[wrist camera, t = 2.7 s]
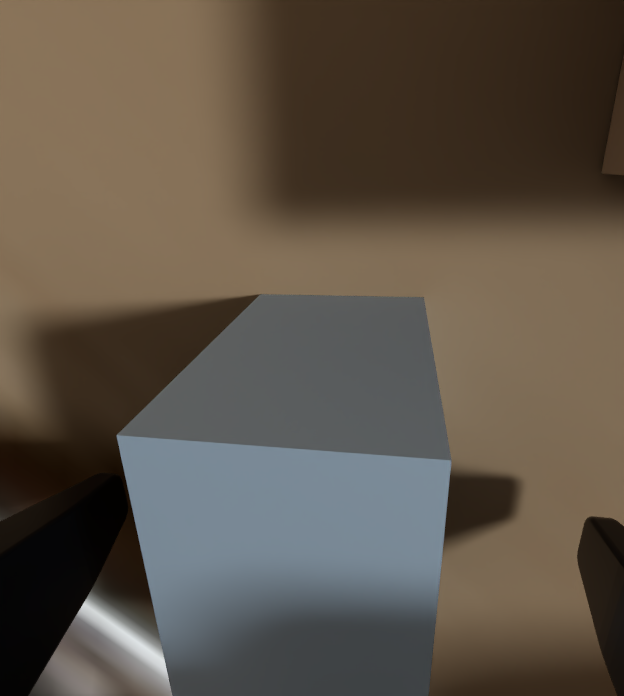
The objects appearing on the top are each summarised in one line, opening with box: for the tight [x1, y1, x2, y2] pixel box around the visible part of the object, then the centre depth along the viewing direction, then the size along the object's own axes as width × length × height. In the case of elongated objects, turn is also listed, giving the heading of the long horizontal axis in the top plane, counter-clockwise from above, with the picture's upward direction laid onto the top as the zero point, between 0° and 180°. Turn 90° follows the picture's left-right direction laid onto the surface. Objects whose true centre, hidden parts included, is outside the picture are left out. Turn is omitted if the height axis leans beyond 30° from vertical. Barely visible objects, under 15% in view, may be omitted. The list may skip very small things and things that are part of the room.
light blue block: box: [116, 294, 451, 696], centre depth 8 cm, size 8×3×5 cm, turn 2°
